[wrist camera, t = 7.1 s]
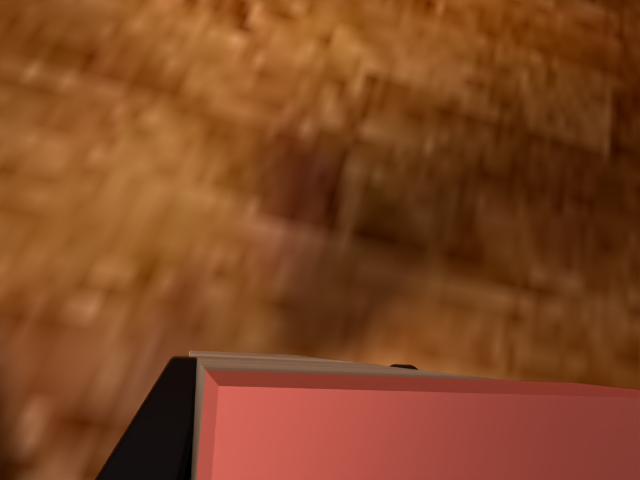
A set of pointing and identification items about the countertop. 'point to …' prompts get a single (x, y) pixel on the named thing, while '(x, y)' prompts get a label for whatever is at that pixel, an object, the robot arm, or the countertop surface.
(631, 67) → the countertop surface
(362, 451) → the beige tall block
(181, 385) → the robot arm
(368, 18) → the countertop surface
